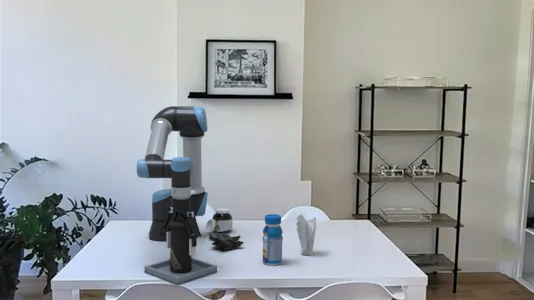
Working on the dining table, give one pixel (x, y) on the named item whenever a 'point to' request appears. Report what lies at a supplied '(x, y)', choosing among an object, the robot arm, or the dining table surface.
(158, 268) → the tray
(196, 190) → the robot arm
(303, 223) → the shell sculpture
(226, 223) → the spread jar
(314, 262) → the dining table surface
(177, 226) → the container
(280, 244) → the beverage bottle
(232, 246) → the mineral specimen
